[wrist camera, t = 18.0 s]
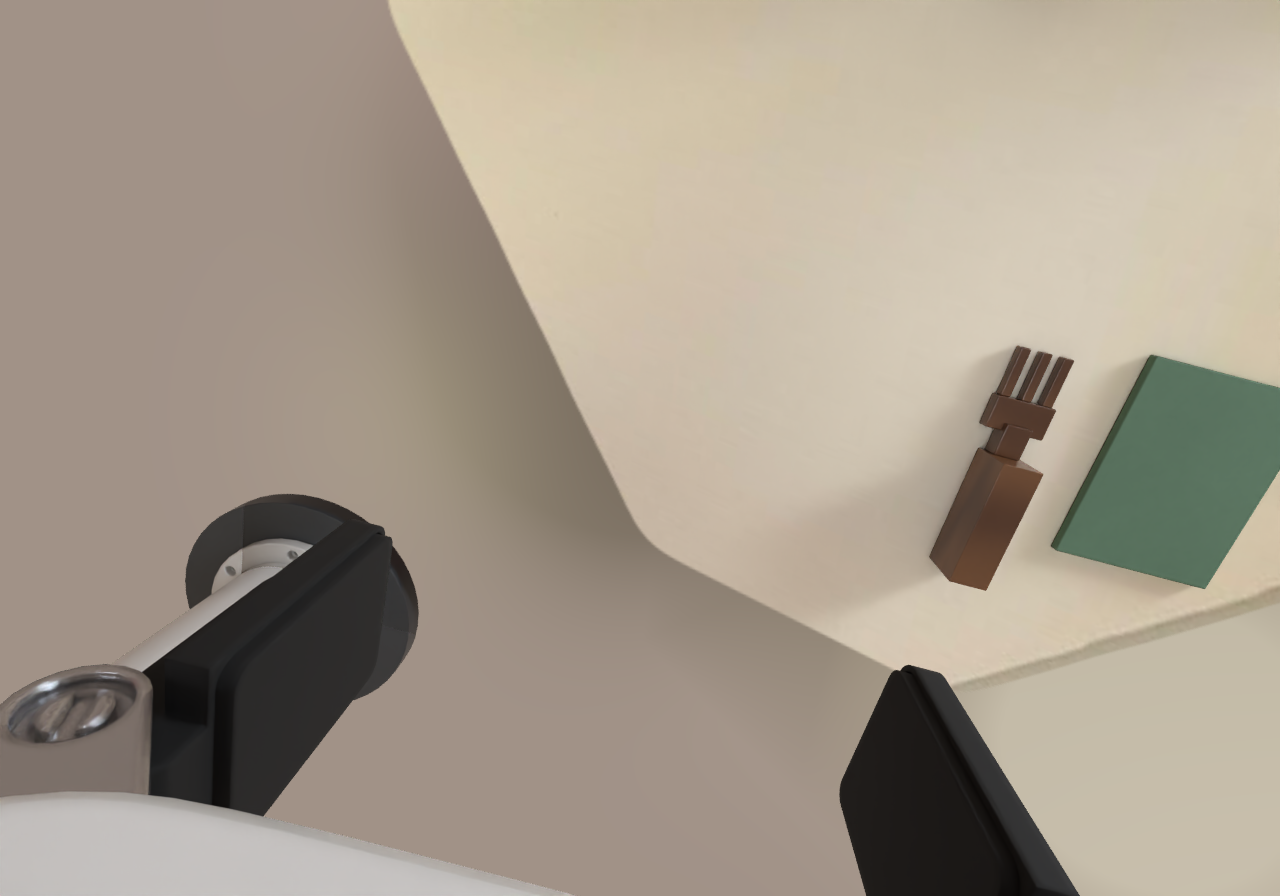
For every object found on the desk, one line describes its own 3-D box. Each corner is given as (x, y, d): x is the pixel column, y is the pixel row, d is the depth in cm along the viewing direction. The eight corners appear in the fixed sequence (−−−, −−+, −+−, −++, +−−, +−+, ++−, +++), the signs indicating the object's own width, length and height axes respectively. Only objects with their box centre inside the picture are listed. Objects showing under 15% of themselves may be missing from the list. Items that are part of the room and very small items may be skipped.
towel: (1197, 584, 39) (1205, 589, 38) (1050, 546, 39) (1055, 550, 38) (1314, 397, 35) (1324, 399, 34) (1149, 354, 35) (1157, 356, 34)
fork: (972, 568, 40) (995, 593, 37) (920, 554, 40) (939, 579, 37) (1071, 359, 35) (1108, 368, 32) (1013, 344, 35) (1044, 352, 32)
